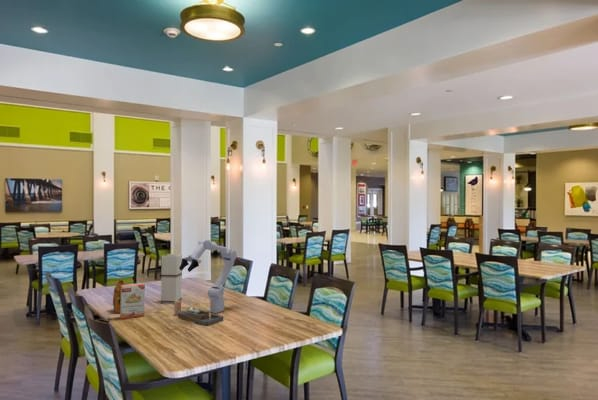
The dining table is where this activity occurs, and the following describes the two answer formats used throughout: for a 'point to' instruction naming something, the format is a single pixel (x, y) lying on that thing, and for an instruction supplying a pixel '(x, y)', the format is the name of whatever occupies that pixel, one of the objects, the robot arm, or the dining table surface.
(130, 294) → the cracker box
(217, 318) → the tray
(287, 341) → the dining table surface
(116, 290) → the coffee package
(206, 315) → the slot board
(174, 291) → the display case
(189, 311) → the chip
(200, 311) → the chip
